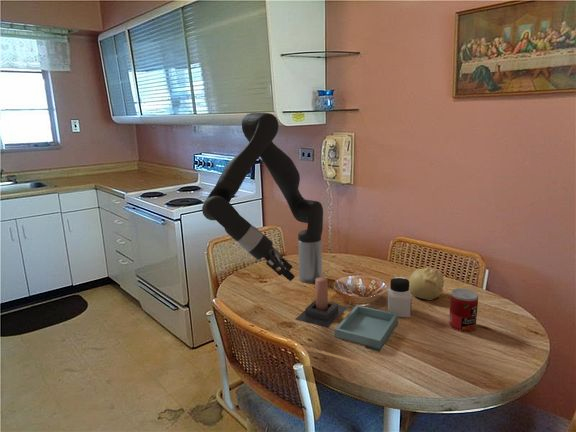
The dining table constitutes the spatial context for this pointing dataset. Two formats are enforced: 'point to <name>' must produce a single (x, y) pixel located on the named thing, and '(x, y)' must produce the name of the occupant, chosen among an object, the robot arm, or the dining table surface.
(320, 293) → the dowel
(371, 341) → the tray
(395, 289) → the medicine bottle
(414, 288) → the pale yellow round lump
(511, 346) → the dining table surface
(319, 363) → the dining table surface
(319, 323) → the holder
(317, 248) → the robot arm
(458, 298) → the canned food
